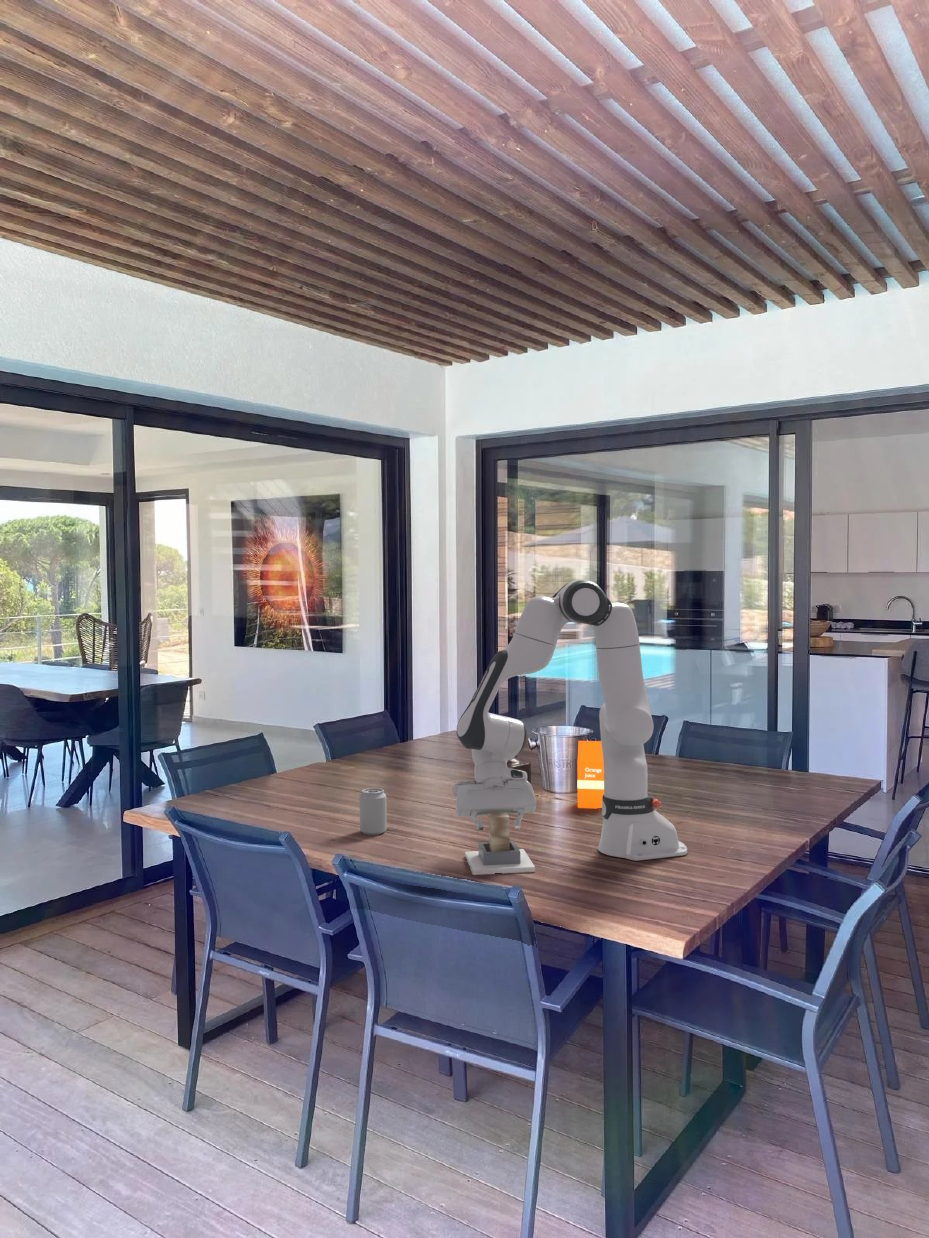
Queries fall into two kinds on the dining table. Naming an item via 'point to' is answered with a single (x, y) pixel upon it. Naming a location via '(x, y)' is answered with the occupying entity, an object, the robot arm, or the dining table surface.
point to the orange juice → (590, 774)
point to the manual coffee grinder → (520, 766)
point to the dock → (498, 860)
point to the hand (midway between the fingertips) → (499, 828)
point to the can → (373, 811)
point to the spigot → (499, 832)
